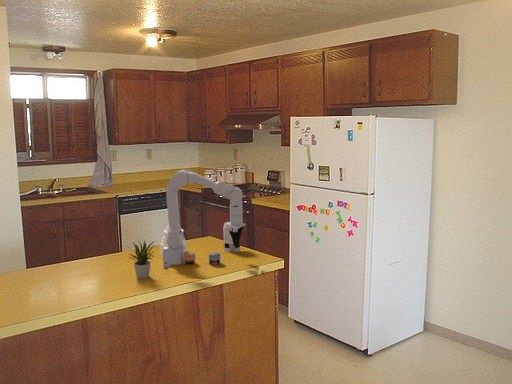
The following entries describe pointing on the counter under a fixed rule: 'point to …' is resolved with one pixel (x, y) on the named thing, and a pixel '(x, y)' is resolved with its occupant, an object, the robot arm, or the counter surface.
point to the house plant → (142, 260)
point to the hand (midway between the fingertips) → (236, 243)
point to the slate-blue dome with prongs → (214, 257)
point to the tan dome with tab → (189, 258)
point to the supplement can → (229, 240)
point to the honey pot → (164, 241)
